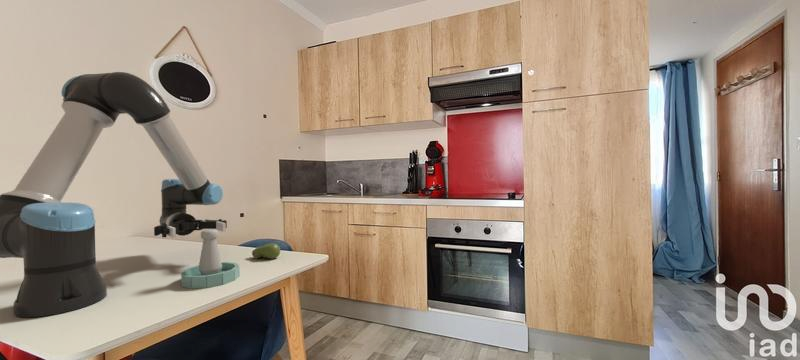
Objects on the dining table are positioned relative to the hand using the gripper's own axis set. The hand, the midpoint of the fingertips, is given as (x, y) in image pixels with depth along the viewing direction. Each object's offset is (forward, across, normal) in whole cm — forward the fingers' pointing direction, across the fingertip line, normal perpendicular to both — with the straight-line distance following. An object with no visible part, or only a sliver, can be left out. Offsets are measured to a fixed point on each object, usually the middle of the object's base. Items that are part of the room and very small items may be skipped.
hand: (200, 230), depth 100 cm
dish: (+10, 0, -13) cm, 17 cm away
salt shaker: (+10, 0, -12) cm, 16 cm away
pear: (0, -20, -13) cm, 24 cm away
